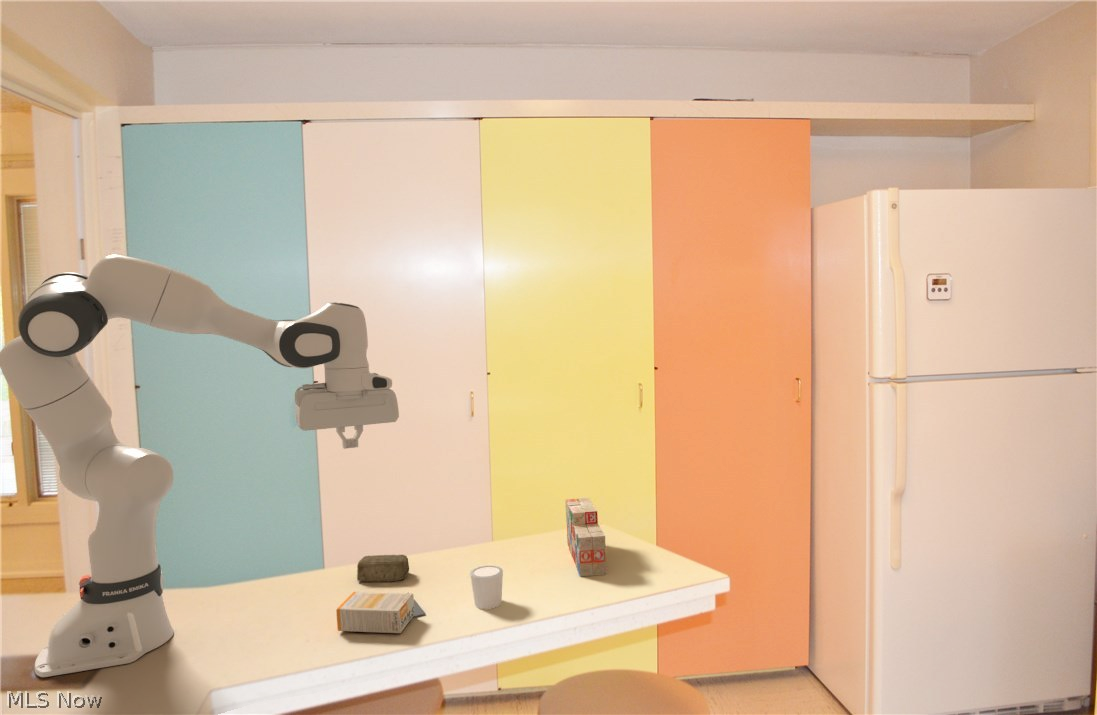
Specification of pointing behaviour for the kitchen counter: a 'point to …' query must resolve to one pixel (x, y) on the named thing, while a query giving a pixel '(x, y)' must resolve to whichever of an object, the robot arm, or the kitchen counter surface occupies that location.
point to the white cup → (487, 586)
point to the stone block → (382, 568)
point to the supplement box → (375, 612)
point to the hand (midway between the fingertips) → (350, 447)
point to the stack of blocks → (585, 537)
